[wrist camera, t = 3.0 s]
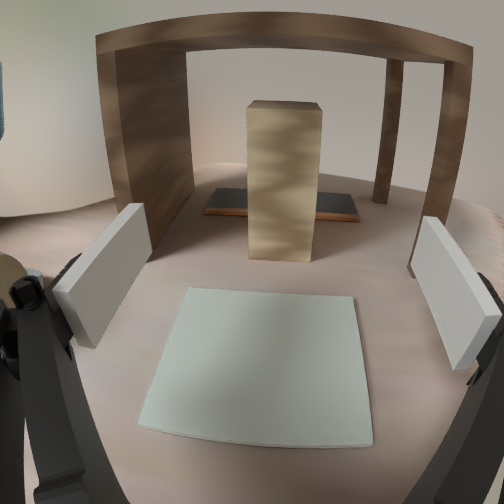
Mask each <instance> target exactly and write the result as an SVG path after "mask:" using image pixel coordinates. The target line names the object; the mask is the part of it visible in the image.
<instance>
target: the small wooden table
mask: <svg viewBox="0 0 504 504" xmlns="http://www.w3.org/2000/svg"><path fill="white" fill-rule="evenodd" d="M234 48H235V49H236V48H288V49H310V50H322V51H333V52H343V53H351V54H359V55H366V56H373V57H379V58H384V59H387V67H386V84H385V98H384V111H383V122H382V131H381V140H380V148H379V157H378V164H377V171H376V179H375V185H374V191H373V199H374V201H375V202H379V203H387V200H388V195H389V189H390V183H391V177H392V170H393V164H394V157H395V150H396V143H397V134H398V126H399V117H400V107H401V96H402V82H403V65H404V61H406V62H408V61H409V62H426V63H440V64H444V80H443V92H442V101H441V111H440V118H439V119H440V120H439V126H438V133H437V140H436V146H435V152H434V159H433V164H432V169H431V174H430V180H429V185H428V189H427V193H426V198H425V202H424V207H423V211H422V215H421V219H420V223H419V227H418V231H417V235H416V238H415V242H414V245H413V249H412V253H411V256H410V259H409V263H408V266H407V267H408V270H409V272H410V274H411V276H412V278H416V276H415V274H414V272H413V270H412V267H411V265H410V264H411V261H412V257H413V254H414V250H415V247H416V243H417V239H418V236H419V232H420V228H421V224H422V220H423V216H430V217H437V218H438V219H439V220H440V222H441V223H442V224H443V225H444V226H445V222H446V219H447V215H448V212H449V208H450V204H451V200H452V196H453V192H454V187H455V183H456V179H457V174H458V170H459V165H460V159H461V154H462V149H463V143H464V138H465V131H466V125H467V118H468V110H469V102H470V92H471V81H472V66H473V47H472V46H469V45H466V44H463V43H460V42H458V41H454V40H451V39H448V38H445V37H441V36H438V35H434V34H431V33H427V32H423V31H420V30H416V29H412V28H407V27H403V26H398V25H394V24H389V23H384V22H378V21H373V20H367V19H360V18H353V17H345V16H337V15H327V14H315V13H300V12H235V13H219V14H208V15H198V16H189V17H181V18H174V19H168V20H162V21H157V22H151V23H145V24H140V25H136V26H131V27H127V28H122V29H118V30H114V31H110V32H106V33H103V34H99V35H96V56H97V71H98V83H99V94H100V104H101V112H102V120H103V128H104V136H105V142H106V149H107V156H108V162H109V168H110V173H111V179H112V184H113V190H114V195H115V200H116V205H117V209H118V214H119V213H120V212H121V211H122V210H123V209H124V208H125V207H126V206H127V205H128V204H129V203H143V205H144V210H145V216H146V221H147V227H148V232H149V237H150V242H151V247H152V252H153V250H154V249H155V247H156V246H157V244H158V242H159V241H160V239H161V238H162V236H163V235H164V233H165V232H166V230H167V229H168V227H169V226H170V224H171V222H172V221H173V219H174V218H175V216H176V215H177V213H178V212H179V211H180V209H181V208H182V206H183V205H184V203H185V202H186V200H187V199H188V197H189V196H190V194H191V193H192V192H193V190H194V189H195V188H194V177H193V166H192V153H191V139H190V124H189V109H188V90H187V69H186V52H191V51H201V50H216V49H234ZM204 212H205V214H214V215H242V216H248V189H231V188H217V189H216V191H215V193H214V195H213V197H212V198H211V200H210V202H209V204H208V206H207V207H206V209H205V211H204ZM315 219H323V220H339V221H354V222H360V217H359V215H358V213H357V210H356V208H355V205H354V203H353V200H352V198H351V195H350V194H337V193H322V192H317V201H316V212H315Z"/></svg>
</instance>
